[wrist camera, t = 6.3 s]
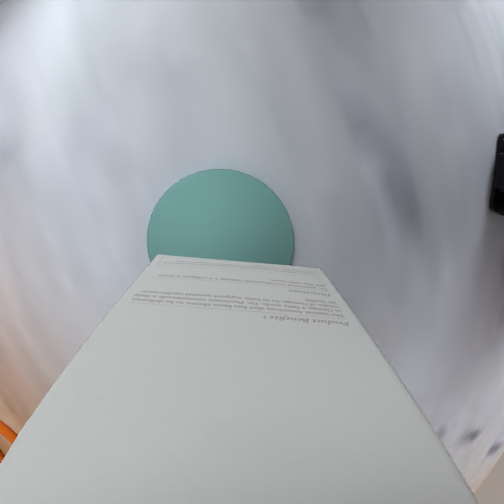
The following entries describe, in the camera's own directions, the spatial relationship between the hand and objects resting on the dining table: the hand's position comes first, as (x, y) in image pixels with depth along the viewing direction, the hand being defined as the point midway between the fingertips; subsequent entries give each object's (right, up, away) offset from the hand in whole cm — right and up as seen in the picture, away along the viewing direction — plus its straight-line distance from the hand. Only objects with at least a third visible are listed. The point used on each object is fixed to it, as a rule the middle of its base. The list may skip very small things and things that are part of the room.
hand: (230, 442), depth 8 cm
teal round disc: (-1, +6, +12) cm, 13 cm away
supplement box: (0, +2, +6) cm, 7 cm away
